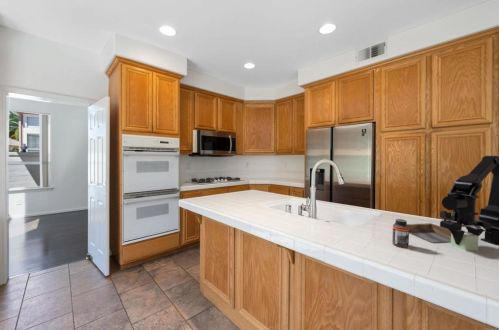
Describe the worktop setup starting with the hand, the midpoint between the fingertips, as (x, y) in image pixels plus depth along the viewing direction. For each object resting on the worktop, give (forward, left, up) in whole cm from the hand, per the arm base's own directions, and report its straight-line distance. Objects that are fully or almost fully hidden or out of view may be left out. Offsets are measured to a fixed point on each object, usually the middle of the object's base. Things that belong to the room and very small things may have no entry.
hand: (463, 244), depth 95 cm
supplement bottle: (+26, -5, -2) cm, 27 cm away
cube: (0, 0, -1) cm, 1 cm away
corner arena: (+2, -13, -1) cm, 13 cm away
